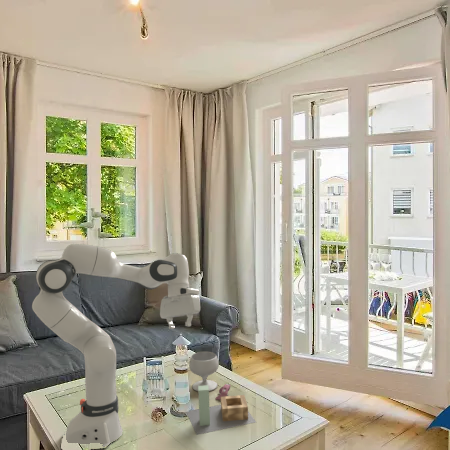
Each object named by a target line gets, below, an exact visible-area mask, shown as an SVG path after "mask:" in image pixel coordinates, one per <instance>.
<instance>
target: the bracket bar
mask: <svg viewBox="0 0 450 450" xmlns="http://www.w3.org/2000/svg"><path fill="white" fill-rule="evenodd" d="M197 392H198V409H199V421H200V426H203V425H210V409H209V407H210V391H209V387H208V385H204V386H198V391H197Z"/></svg>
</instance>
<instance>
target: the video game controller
mask: <svg viewBox="0 0 450 450" xmlns="http://www.w3.org/2000/svg"><path fill="white" fill-rule="evenodd" d="M230 390H231V384H229V383H226V384H224V385H223V386H222V387H220V388H219V390H218V393H219V394H218V395H217V396H216V397H215V399H214V400H217V401H221V397H225V396H229V391H230Z"/></svg>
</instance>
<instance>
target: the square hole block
mask: <svg viewBox="0 0 450 450" xmlns="http://www.w3.org/2000/svg"><path fill="white" fill-rule="evenodd" d="M220 405H221V411H222V418H223V421H233V420H245V419H248V412H249V406H248V403H247V400H246V396H245V394H242V395H241V394H239V395H228V396H225V397H221V400H220Z"/></svg>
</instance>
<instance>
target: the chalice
mask: <svg viewBox="0 0 450 450" xmlns="http://www.w3.org/2000/svg"><path fill="white" fill-rule="evenodd" d="M219 363H220V362H219V359H218V356H217V354H216V353H215V352H212V351H198V352H195V353H193V354H192V355H191V357H190V359H189V364H188V366H189V370H190V371H191V373H193V374H194V375H195V376H196V375H197V376H199V377H201V379H202V380H198V381H195V382H194V383H193V384H192V386H191V388H192V389H193V391H196V392H198V386H204V385H208V387H209V392H212V391H214V390H216V389H217V388H218V382H216V381H214V380H210V379H208V377H209V376H210V375H212V374H214V373H216V372H217V371H218V369H219V367H220V366H219V365H220V364H219Z"/></svg>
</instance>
